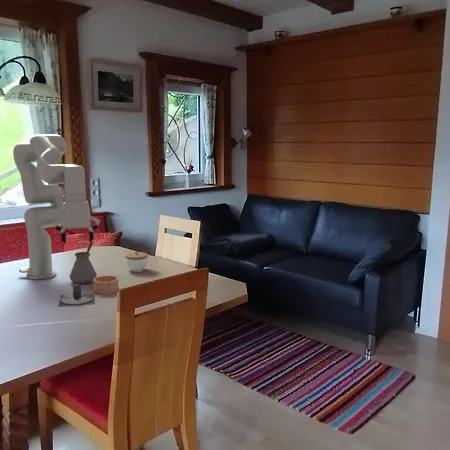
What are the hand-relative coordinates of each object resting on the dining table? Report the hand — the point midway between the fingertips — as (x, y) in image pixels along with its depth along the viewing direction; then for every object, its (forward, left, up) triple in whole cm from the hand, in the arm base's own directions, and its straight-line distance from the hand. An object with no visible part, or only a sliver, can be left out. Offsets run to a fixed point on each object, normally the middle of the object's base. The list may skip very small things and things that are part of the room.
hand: (77, 242), depth 175 cm
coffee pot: (+2, +26, -23) cm, 35 cm away
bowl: (+10, +7, -22) cm, 26 cm away
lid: (-1, -3, -22) cm, 22 cm away
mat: (-1, -3, -22) cm, 23 cm away
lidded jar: (+25, +35, -23) cm, 49 cm away
